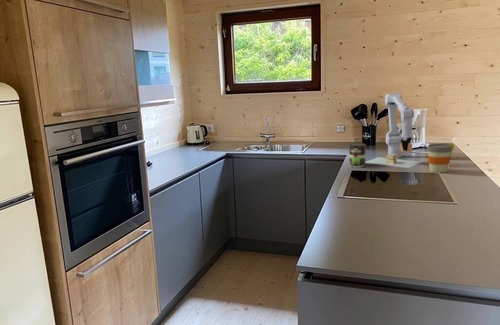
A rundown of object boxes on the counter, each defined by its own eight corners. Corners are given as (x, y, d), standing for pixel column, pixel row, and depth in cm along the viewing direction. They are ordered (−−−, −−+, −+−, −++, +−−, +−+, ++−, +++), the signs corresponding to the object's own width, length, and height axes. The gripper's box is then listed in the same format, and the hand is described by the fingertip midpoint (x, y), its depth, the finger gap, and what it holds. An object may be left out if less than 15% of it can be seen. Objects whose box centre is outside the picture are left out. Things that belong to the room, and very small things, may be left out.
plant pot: (449, 156, 257) (450, 142, 255) (456, 160, 247) (456, 145, 245) (433, 157, 258) (434, 143, 256) (439, 160, 248) (440, 145, 246)
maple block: (389, 161, 251) (389, 154, 250) (396, 162, 247) (396, 154, 246) (385, 162, 248) (385, 155, 247) (392, 163, 244) (393, 156, 243)
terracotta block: (404, 150, 246) (404, 142, 245) (411, 151, 242) (412, 143, 241) (400, 151, 243) (400, 143, 242) (407, 152, 239) (407, 144, 238)
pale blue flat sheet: (378, 157, 266) (378, 157, 266) (421, 162, 245) (422, 161, 245) (363, 163, 253) (363, 162, 253) (408, 168, 232) (408, 167, 231)
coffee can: (363, 167, 241) (363, 145, 238) (347, 166, 246) (347, 145, 243) (367, 164, 250) (367, 143, 247) (351, 163, 254) (351, 142, 251)
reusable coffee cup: (453, 173, 216) (454, 147, 212) (429, 173, 218) (430, 148, 215) (446, 168, 228) (448, 143, 224) (424, 168, 230) (425, 144, 227)
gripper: (401, 126, 247) (401, 147, 250) (397, 130, 235) (397, 151, 238) (413, 127, 244) (412, 147, 247) (410, 130, 232) (409, 152, 234)
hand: (406, 149), depth 242 cm, fingers closed on terracotta block, 6 cm apart
